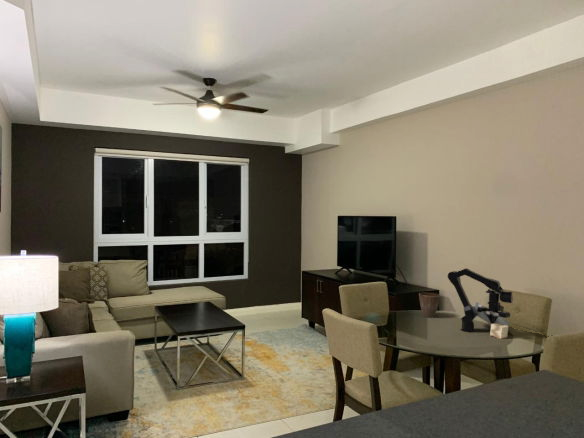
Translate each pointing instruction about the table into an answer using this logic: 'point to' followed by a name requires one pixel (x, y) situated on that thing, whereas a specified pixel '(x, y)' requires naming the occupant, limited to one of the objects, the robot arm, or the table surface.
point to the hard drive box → (485, 318)
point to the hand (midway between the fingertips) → (492, 325)
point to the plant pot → (429, 303)
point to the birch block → (499, 330)
